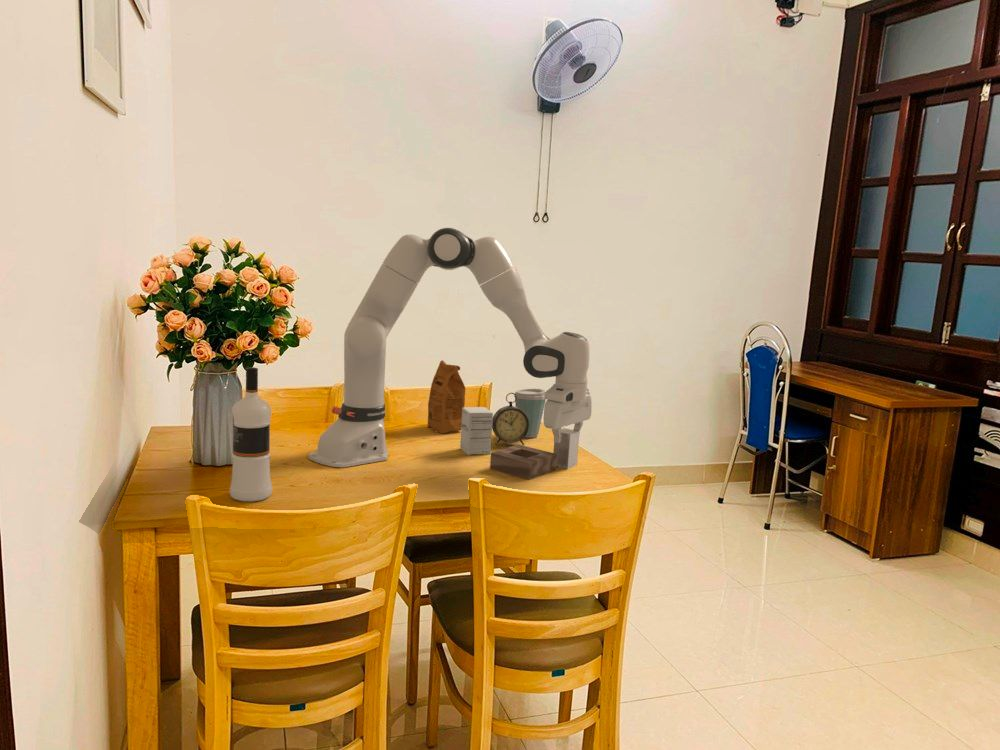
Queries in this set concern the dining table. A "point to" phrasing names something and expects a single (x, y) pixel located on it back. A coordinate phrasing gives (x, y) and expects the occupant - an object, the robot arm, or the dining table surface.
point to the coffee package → (446, 399)
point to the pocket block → (523, 461)
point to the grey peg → (567, 448)
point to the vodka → (251, 444)
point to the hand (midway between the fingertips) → (566, 439)
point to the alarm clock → (510, 424)
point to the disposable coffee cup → (531, 408)
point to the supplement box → (476, 430)
